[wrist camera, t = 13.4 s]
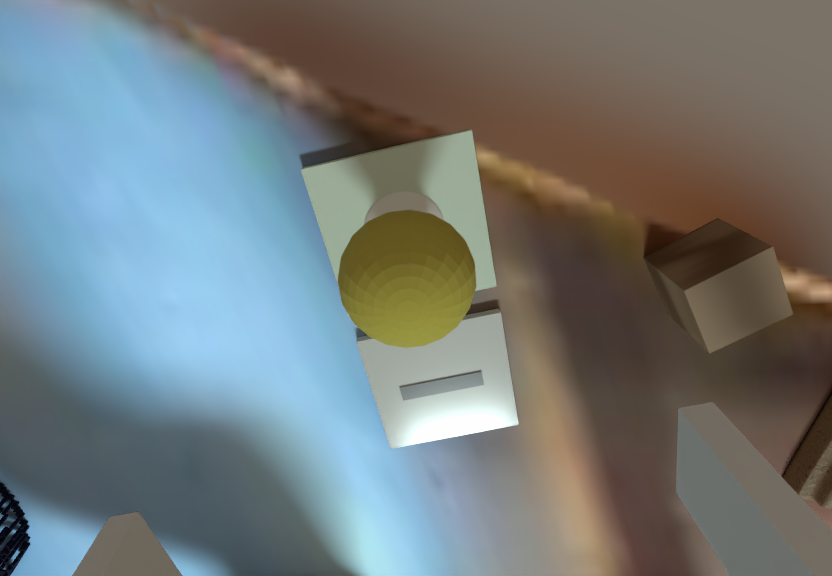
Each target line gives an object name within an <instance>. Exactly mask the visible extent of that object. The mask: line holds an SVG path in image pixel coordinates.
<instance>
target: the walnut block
mask: <svg viewBox="0 0 832 576" xmlns="http://www.w3.org/2000/svg"><path fill="white" fill-rule="evenodd" d="M644 260H645V262H646V265H647V267H648V269H649V272H650V274H651V276H652V279H653V281H654V283H655V285H656V288H657V290H658V292H659V295H660V297H661V299H662V302H663V304H664V306H665V309H666V311H667V313H668V315H670V316H671V317H672V318H673V319H674V320H675V321H676V322H677V323H678V324H679V325H680V326H681V327H682V328H683V329H684V330H685V331H686V332H687V333H688V334H689V335H690V336H692V337H693V338H694V339H695V340H696V341H697V342H698V343H699V344H700V345H701V346H702V347H703V348H704V349H705V350H706V351H707V352H708V353H711V352H714V351H716V350H718V349H720V348H722V347H724V346H726V345H728V344H731V343H733V342H735V341H737V340H739V339H741V338H743V337H746V336H748V335H750V334H752V333H754V332H756V331H758V330H761V329H763V328H765V327H767V326H769V325H771V324H773V323H776V322H778V321H780V320H782V319H784V318H786V317H788V316H791V315H793V313H792V309H791V306H790V302H789V299H788V296H787V292H786V289H785V285H784V282H783V278H782V275H781V272H780V268H779V265H778V261H777V258H776V255H775V251H774V248H773V246H771V245H769V244H767V243H765V242H763V241H761V240H759V239H758V238H755V237H753V236H751V235H750V234H748V233H746V232H743V231H742V230H740V229H738V228H736V227H734V226H732V225H730V224H728V223H726V222H724V221H722V220H720V219H718V218H717V219H715V220H713V221H711V222H709V223H707V224H705V225H703V226H702V227H700V228H698V229H696V230H694V231H692V232H690V233H688V235H686V236H684V237H682V238H680V239H678V240H676V241H674V242H672V243H671V244H669V245H667V246H665V247H663V248H661V249H659V250H657V251H655V252H653V253H651V254H650V255H648V256H646V257H644Z"/></svg>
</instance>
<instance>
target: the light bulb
mask: <svg viewBox="0 0 832 576" xmlns="http://www.w3.org/2000/svg"><path fill="white" fill-rule="evenodd" d="M338 285H339V290H340V295H341V300H342V304H343V306H344V308H345V309H346V311H347V313H348V314H349V316H350V318H351V319H352V321H353V322H354V324H355V325H356V326H358V327H359V328H360V329H361V330H362V331H363V332H364V333H366V334H367V335H368V336H369V337H371V338H373V339H375V340H377V341H380V342H382V343H384V344H386V345H390V346H397V347H403V348H410V347H418V346H425V345H427V344H430V343H432V342H435V341H437V340H440V339H442V338H443V337H445V336H446V335H447V334H449V333H450V332H451V331H452V330H454V329H455V328H456V327H457V326H458V325H459V323H460V322H461V321H462V319H463V318H464V316H465V315H466V313H467V312H468V310H469V309H470V307H471V303H472V300H473V296H474V293H475V289H476V272H475V262H474V259H473V257H472V254H471V252H470V250H469V247H468V245H467V243H466V241H465V239H464V238H463V237H462V236H461V235H460V234H459V233H458V232H457V231H456V230H455V229H454V227H453V226H452V225H451V224H449V223H448V222H446V221H444V220H442V219H440V218H438V217H437V216H435V215H433V214H430V213H425V212H420V211H414V210H402V211H394V212H387V213H385V214H383V215H381V216H378V217H376V218H374V219H372V220H370V221H368V222H367V223H365V224H364V225H363V226H362V227H361V228H360V229H359V230H358V231H357V232H356V233H355V234H354V235H352V237H351V239H350V241H349V243H348V245H347V247H346V248H345V250H344V252H343V254H342V256H341V260H340V267H339V274H338Z"/></svg>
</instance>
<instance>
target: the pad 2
mask: <svg viewBox="0 0 832 576" xmlns="http://www.w3.org/2000/svg"><path fill="white" fill-rule="evenodd" d="M356 342H357V345H358V349H359V352H360V355H361V358H362V361H363V364H364V367H365V370H366V373H367V377H368V380H369V383H370V386H371V389H372V392H373V395H374V398H375V401H376V404H377V408H378V411H379V414H380V417H381V420H382V423H383V426H384V429H385V432H386V435H387V439H388V442H389V445H390V448H397V447H402V446H407V445H413V444H418V443H423V442H429V441H434V440H439V439H445V438H450V437H455V436H460V435H466V434H471V433H476V432H482V431H487V430H492V429H498V428H503V427H508V426H514V425H518V418H517V412H516V406H515V399H514V393H513V387H512V380H511V374H510V368H509V361H508V355H507V349H506V342H505V336H504V330H503V324H502V317H501V312H500V309H499V308H498V309H493V310H488V311H483V312H478V313H474V314H469V315H465V316H464V318H463V319H462V321H461V322H460V323H459V325H458V326H457V327H456V328H455V329H454V330H452V331H451V332H450V333H449V334H447V335H446V336H445V337H443V338H442V339H440V340H437V341H435V342H432V343H430V344H427V345H425V346H418V347H410V348H403V347H397V346H390V345H386V344H384V343H382V342H380V341H377V340H375V339H373V338H371V337H369V336H368V335H366V336H361V337H357V341H356Z"/></svg>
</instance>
